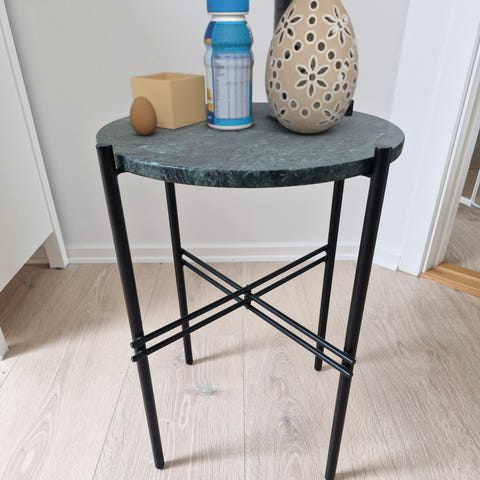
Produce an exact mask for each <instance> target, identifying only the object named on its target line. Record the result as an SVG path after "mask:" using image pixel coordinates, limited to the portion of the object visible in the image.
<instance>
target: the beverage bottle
mask: <svg viewBox="0 0 480 480" xmlns="http://www.w3.org/2000/svg"><path fill="white" fill-rule="evenodd" d="M206 12H207V15H208V16H211V18H210V21H209V22H208V24H207V26H206V29H205V32H204V35H203V44H204V46H205V53H204V54H203V65H204V67H205V86H206V102H207V103H206V108H207V114H206V122H207V126H209V128H211V129H215V130H218V131H219V130H220V131H239V130H245V129H248V128H250V127H251V126H252V125H253V121H254V119H253V118H254V116H253V74H254V72H253V71H254V70H253V68H254V65H255V56H254V53H253V50H252V46H253V44H254V36H253V32H252V29H251V27H250V25H249V23H248V21H247V19H246V15H249V12H250V0H206Z"/></svg>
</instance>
